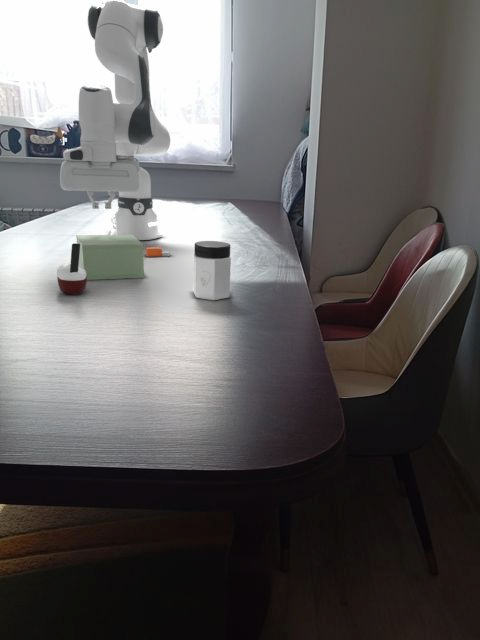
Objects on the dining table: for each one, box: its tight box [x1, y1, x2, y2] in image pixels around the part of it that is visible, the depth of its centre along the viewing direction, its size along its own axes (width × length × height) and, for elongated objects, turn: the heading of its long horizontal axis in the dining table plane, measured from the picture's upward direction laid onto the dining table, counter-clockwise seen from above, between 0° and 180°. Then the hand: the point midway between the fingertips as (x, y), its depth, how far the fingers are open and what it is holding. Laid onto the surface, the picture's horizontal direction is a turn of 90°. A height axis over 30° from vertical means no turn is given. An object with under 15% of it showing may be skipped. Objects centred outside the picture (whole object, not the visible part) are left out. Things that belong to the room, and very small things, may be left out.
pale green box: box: [75, 234, 145, 281], centre depth 134 cm, size 15×15×9 cm
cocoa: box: [56, 242, 88, 296], centre depth 113 cm, size 10×6×12 cm, turn 12°
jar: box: [193, 240, 232, 301], centre depth 118 cm, size 9×8×12 cm
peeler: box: [145, 246, 171, 257], centre depth 159 cm, size 7×3×2 cm, turn 114°
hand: (101, 208), depth 139 cm, fingers closed
